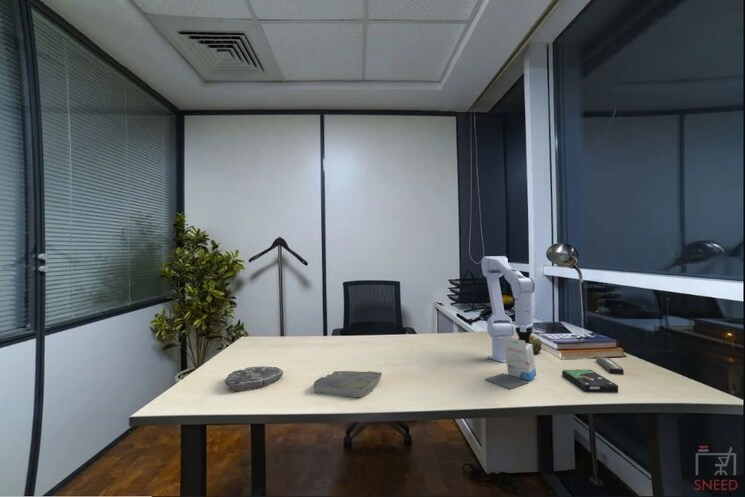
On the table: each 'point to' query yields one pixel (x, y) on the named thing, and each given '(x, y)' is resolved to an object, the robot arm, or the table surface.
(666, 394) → the table surface
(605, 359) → the multiport hub
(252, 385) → the brain slice
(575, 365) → the table surface
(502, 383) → the mat
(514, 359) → the ink box
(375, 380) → the fossil
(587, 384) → the disk drive
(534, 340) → the seashell
